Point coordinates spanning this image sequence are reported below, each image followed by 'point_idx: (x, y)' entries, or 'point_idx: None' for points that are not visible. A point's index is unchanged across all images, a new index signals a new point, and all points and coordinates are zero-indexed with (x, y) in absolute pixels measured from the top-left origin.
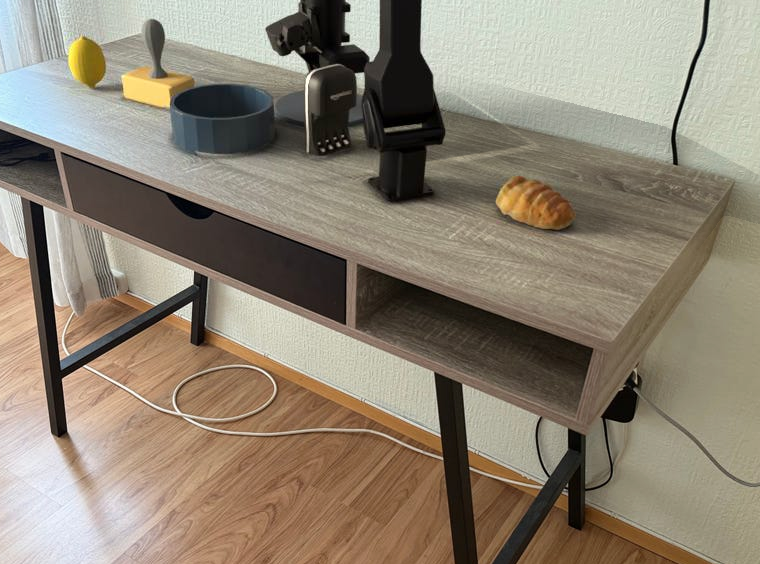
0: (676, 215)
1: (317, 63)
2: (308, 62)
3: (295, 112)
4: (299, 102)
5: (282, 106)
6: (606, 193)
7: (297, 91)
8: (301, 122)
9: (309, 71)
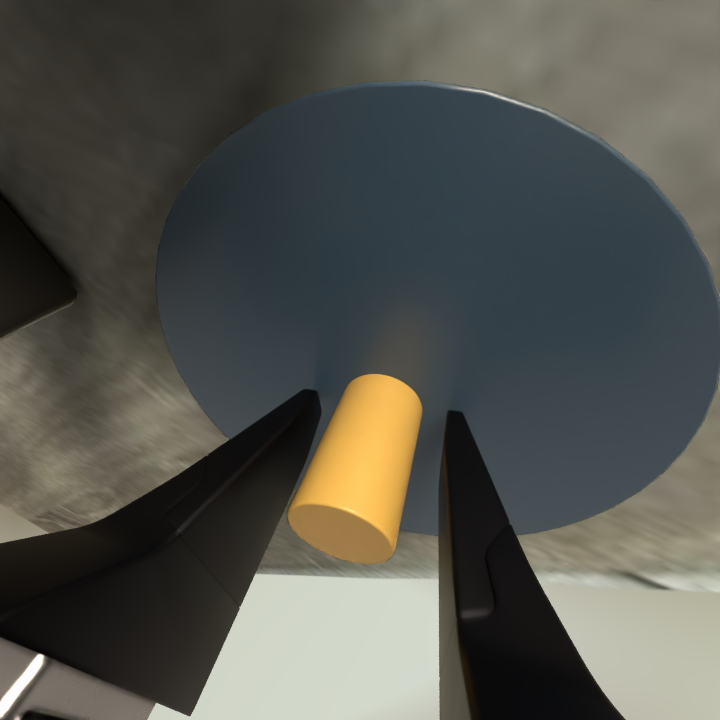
0: (10, 505)
1: (451, 671)
2: (464, 674)
3: (315, 224)
4: (484, 320)
5: (467, 169)
6: (35, 501)
7: (709, 397)
8: (175, 202)
9: (494, 566)
